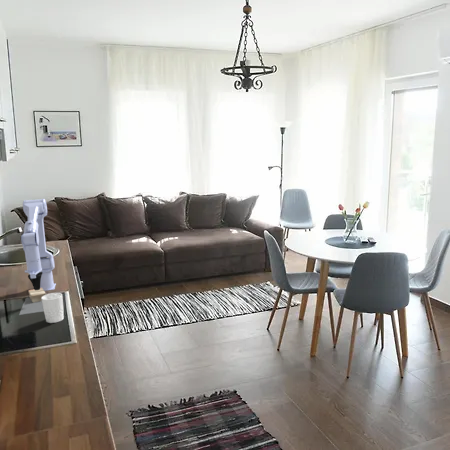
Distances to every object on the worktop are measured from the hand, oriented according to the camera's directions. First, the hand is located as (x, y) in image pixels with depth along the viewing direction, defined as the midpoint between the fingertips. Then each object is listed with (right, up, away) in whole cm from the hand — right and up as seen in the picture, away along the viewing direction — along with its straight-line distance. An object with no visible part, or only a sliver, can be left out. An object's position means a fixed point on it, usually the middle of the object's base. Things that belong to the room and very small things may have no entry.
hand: (37, 289), depth 204 cm
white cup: (+14, -10, -17) cm, 24 cm away
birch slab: (-1, -4, +4) cm, 6 cm away
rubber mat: (0, -7, +2) cm, 7 cm away
